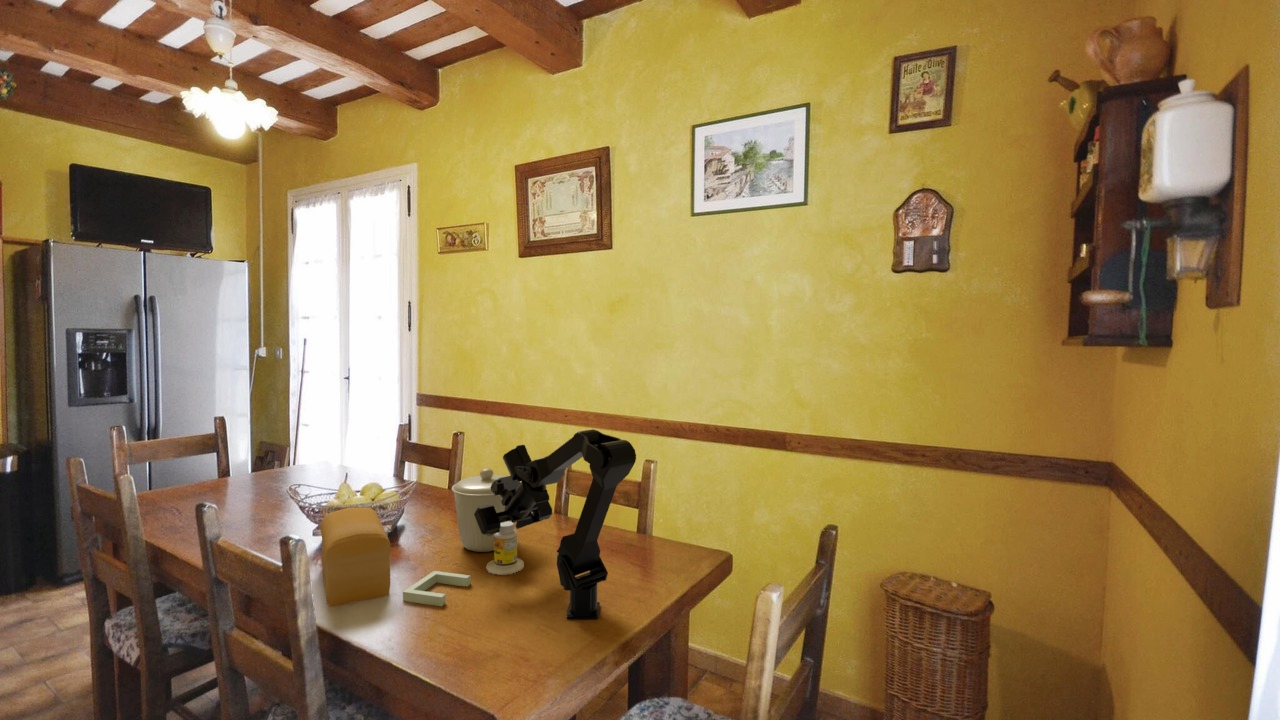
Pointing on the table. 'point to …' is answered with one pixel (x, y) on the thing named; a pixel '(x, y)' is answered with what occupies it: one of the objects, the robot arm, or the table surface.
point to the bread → (354, 556)
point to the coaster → (505, 571)
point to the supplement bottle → (505, 546)
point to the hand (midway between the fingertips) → (502, 530)
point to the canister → (468, 500)
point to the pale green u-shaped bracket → (418, 589)
